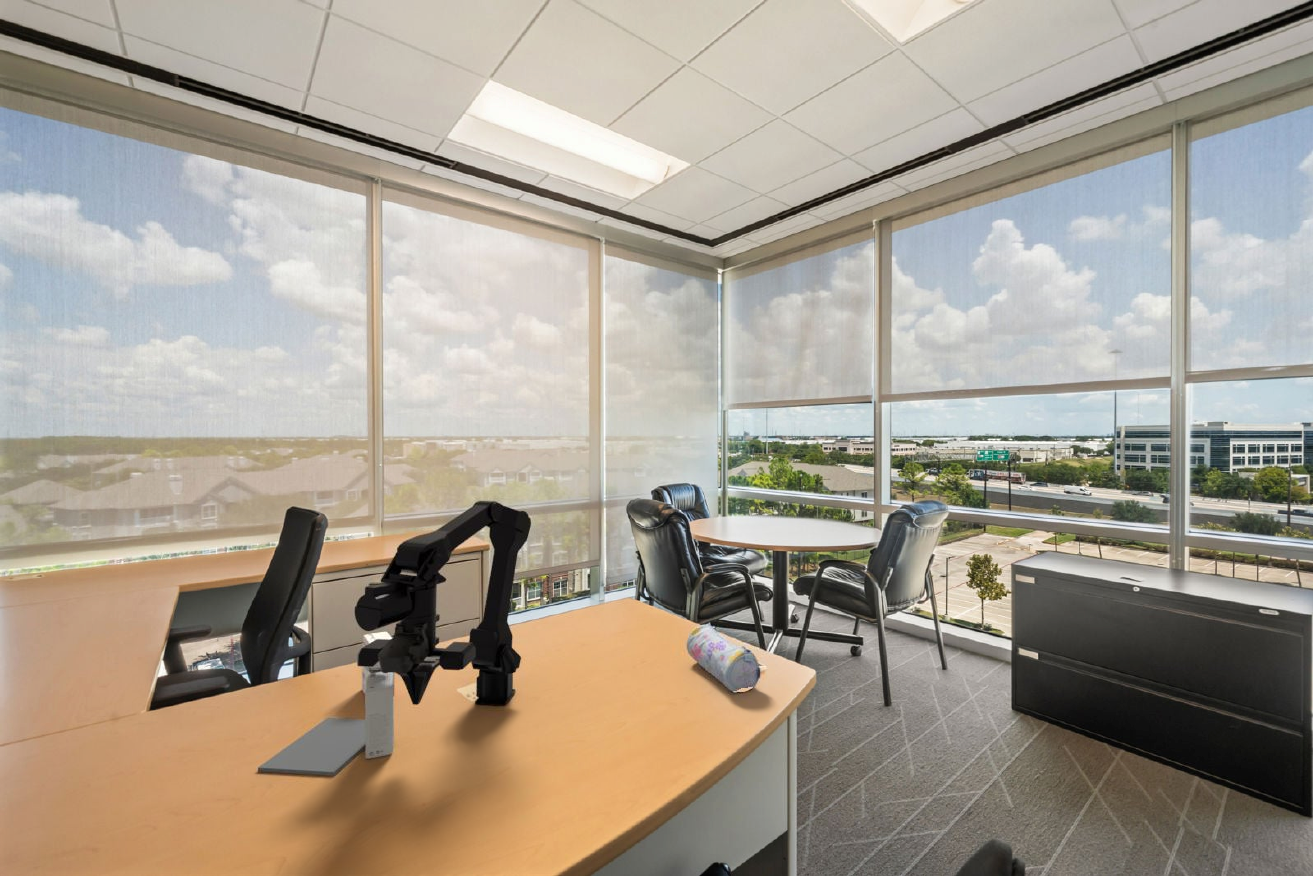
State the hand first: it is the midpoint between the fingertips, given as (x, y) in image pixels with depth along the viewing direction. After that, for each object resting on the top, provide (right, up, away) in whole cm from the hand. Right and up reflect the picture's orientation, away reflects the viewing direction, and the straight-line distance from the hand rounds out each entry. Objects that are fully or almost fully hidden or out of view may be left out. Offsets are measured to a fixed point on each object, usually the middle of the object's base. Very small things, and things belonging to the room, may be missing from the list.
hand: (416, 703), depth 91 cm
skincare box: (-7, -8, 0) cm, 10 cm away
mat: (-16, -8, +1) cm, 18 cm away
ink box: (-18, -9, +21) cm, 29 cm away
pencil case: (+57, -10, +31) cm, 65 cm away
